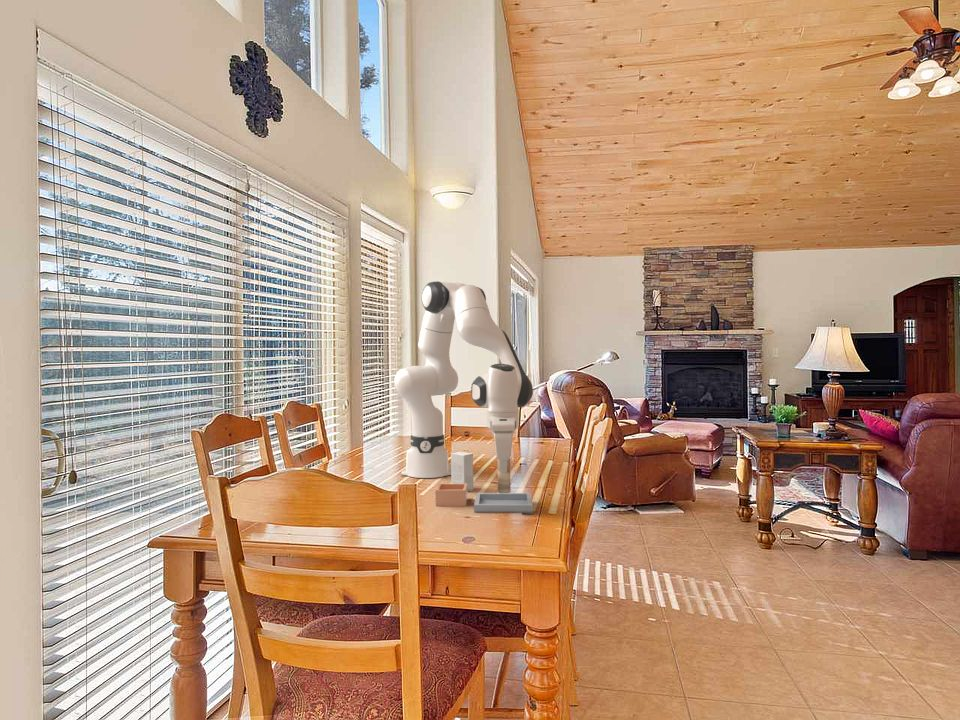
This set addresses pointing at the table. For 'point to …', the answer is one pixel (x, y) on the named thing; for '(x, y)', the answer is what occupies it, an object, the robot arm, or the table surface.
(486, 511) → the slate tray
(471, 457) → the skincare box
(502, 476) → the translucent grey tall block
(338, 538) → the table surface
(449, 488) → the terracotta open box
